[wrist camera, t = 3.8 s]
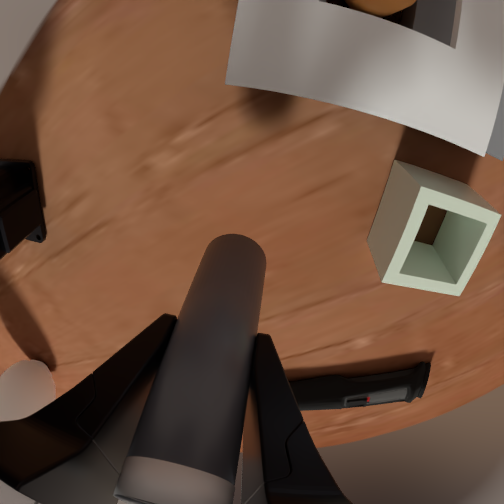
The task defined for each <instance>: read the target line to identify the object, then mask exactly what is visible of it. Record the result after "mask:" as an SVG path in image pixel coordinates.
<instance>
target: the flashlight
mask: <svg viewBox="0 0 504 504" xmlns="http://www.w3.org/2000/svg"><path fill="white" fill-rule="evenodd" d="M265 270H266V257H265V254H264V252H263V250H262V248H261V247H260V246H259V245H258V244H257V243H256V242H255V241H253V240H252V239H250V238H248V237H246V236H243V235H239V234H226V235H222V236H219V237H217V238H215V239H214V240H213V241H212V242H211V243H210V244H209V245H208V247H207V249H206V251H205V253H204V255H203V258H202V260H201V263H200V265H199V267H198V270H197V272H196V275H195V277H194V279H193V282H192V284H191V287H190V289H189V291H188V294H187V296H186V299H185V301H184V304H183V306H182V309H181V311H180V314H179V316H178V319H177V321H176V324H175V326H174V329H173V331H172V334H171V336H170V339H169V341H168V344H167V347H166V349H165V352H164V354H163V357H162V360H161V362H160V365H159V368H158V370H157V373H156V376H155V378H154V381H153V384H152V386H151V389H150V392H149V394H148V397H147V400H146V403H145V405H144V408H143V411H142V414H141V417H140V419H139V422H138V425H137V428H136V431H135V434H134V437H133V439H132V442H131V445H130V448H129V451H128V454H127V457H126V458H125V460H124V463H123V466H122V469H121V472H120V475H119V478H118V482H117V485H116V488H115V491H114V494H113V495H114V496H115V497H116V498H118V499H119V500H121V501H123V502H125V503H127V504H232V503H233V497H234V491H235V486H234V485H235V479H236V473H237V466H238V460H239V454H240V447H241V440H242V434H243V427H244V421H245V414H246V407H247V400H248V393H249V386H250V379H251V370H252V362H253V355H254V348H255V341H256V335H257V330H258V322H259V315H260V308H261V300H262V293H263V285H264V277H265Z"/></svg>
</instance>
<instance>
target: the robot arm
mask: <svg viewBox="0 0 504 504" xmlns="http://www.w3.org/2000/svg"><path fill="white" fill-rule="evenodd" d="M28 167H29V168H28ZM24 239H27V240H30V241H34V242H38V243H42V242H43V241H44V240H45V239H46V234H45V229H44V224H43V218H42V213H41V207H40V200H39V194H38V186H37V179H36V170H35V165H34V163H33V162H32V161H29V160H12V159H0V260H1V259H2V258H3V257H4V256H5V255H6V254H7V253H10V252H11V251H12V250H13V249H14V248H15V247H16V246H17V245H19V244H20V243H21V242H22V241H23V240H24ZM176 321H177V317H176V316H175V315H171V314H166V313H165V314H163V315H161V316H160V317H159V318H158V319H157V320H155V321H154V322H153V323H152V324H150V325H149V326H148V327H147V328H146V329H144V330H143V331H142V332H141V333H140V334H138V335H137V336H136V337H135V338H133V339H132V340H131V341H130V342H129V343H127V344H126V345H125V346H124V347H123V348H121V349H120V350H119V351H118V352H116V353H115V354H114V355H113V356H112V357H110V358H109V359H108V360H107V361H106V362H104V363H103V364H102V365H101V366H100V367H98V368H97V369H96V370H95V371H94V372H93V374H92V373H91V374H90V375H89V376H87V377H86V378H85V379H84V380H82V381H81V382H80V383H79V384H77V385H76V386H75V387H73V388H72V389H71V390H69V391H68V392H66V393H65V394H63V395H62V396H60V397H59V398H57V399H56V400H54V401H53V402H51V403H49V404H48V405H46V406H45V407H43V408H42V409H40V410H38V411H37V412H35V413H34V414H32V415H30V416H28V417H25V418H22V419H19V420H11V421H0V504H117V502H118V500H119V499H118V498H116V497H115V496H114V495H113V494H114V491H115V488H116V485H117V482H118V478H119V475H120V472H121V469H122V466H123V463H124V460H125V458H126V457H127V454H128V451H129V448H130V445H131V442H132V439H133V437H134V434H135V431H136V428H137V425H138V422H139V419H140V417H141V414H142V411H143V408H144V405H145V403H146V400H147V397H148V394H149V392H150V389H151V386H152V384H153V381H154V378H155V376H156V373H157V370H158V368H159V365H160V362H161V360H162V357H163V354H164V352H165V349H166V347H167V344H168V341H169V339H170V336H171V334H172V331H173V329H174V326H175V324H176ZM303 420H304V419H303V417H302V414H301V412H300V409H299V407H298V404H297V402H296V399H295V397H294V394H293V392H292V389H291V387H290V384H289V382H288V379H287V377H286V374H285V372H284V369H283V367H282V364H281V361H280V359H279V356H278V354H277V351H276V349H275V346H274V344H273V341H272V338H271V336H270V335H268V334H263V333H258V334H257V335H256V341H255V348H254V355H253V362H252V370H251V379H250V386H249V393H248V400H247V407H246V414H245V421H244V432H243V459H242V486H241V487H242V488H241V489H242V490H241V504H353V503H352V502H351V501H349V500H348V499H347V497H346V496H345V495H344V494H343V493H342V491H341V490H340V488H339V487H338V485H337V483H336V482H335V480H334V478H333V477H332V475H331V473H330V472H329V470H328V468H327V466H326V465H325V463H324V461H323V460H322V458H321V456H320V454H319V452H318V450H317V449H316V447H315V445H314V443H313V440H312V438H311V436H310V434H309V431H308V429H307V427H306V424H305V422H304V421H303Z"/></svg>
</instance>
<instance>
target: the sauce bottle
mask: <svg viewBox="0 0 504 504" xmlns="http://www.w3.org/2000/svg"><path fill="white" fill-rule="evenodd" d="M54 400H55V382H54V381H53V379H52V374H51V372H50V371H49V369H48V367H47V366H46V365H45V364H44V363H43V362H41V361H37V360H33V359H32V360H30V361H29V360H22V361H19V362H17V363H15V364H13V365H12V366H10V367H9V368H8V369H7V370H6V371H5V372H4V373H3V374H2V375H1V377H0V421H11V420H19V419H22V418H25V417H28V416H30V415H32V414H34V413H35V412H37V411H38V410H40V409H42V408H43V407H45V406H46V405H48V404H49V403H51V402H53V401H54Z"/></svg>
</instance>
